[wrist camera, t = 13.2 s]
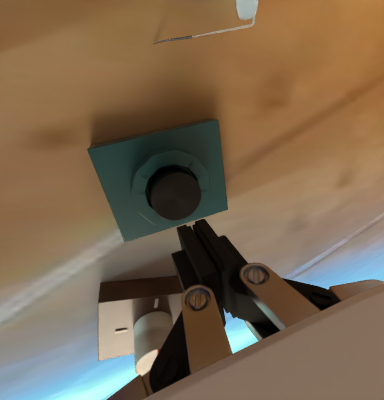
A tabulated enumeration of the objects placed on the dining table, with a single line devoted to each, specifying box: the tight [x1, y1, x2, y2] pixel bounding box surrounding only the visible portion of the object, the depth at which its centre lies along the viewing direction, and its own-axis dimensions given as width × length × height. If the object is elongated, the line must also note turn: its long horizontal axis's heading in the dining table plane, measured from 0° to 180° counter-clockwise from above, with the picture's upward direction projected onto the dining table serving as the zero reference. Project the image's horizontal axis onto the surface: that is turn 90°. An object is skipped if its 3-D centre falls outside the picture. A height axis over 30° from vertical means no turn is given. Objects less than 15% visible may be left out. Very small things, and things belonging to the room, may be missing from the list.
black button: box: [149, 167, 201, 221], centre depth 19 cm, size 4×4×2 cm
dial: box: [133, 311, 174, 376], centre depth 25 cm, size 5×5×5 cm
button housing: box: [87, 119, 228, 242], centre depth 21 cm, size 12×10×4 cm
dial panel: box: [98, 276, 184, 361], centre depth 28 cm, size 13×10×3 cm
